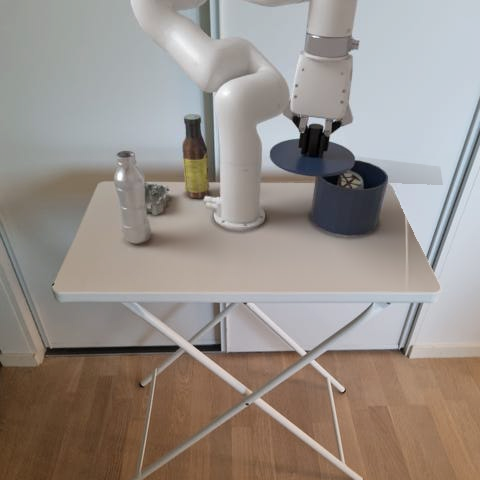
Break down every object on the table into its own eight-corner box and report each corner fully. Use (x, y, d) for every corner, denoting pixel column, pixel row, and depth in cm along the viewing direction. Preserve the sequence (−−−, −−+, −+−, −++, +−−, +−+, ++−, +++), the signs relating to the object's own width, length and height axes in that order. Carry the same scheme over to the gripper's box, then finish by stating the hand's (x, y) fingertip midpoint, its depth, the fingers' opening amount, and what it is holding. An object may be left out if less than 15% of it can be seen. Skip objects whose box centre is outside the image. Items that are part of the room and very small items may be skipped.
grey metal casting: (161, 217, 114) (159, 201, 111) (132, 213, 115) (129, 198, 112) (172, 196, 122) (171, 181, 119) (145, 193, 122) (143, 179, 120)
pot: (306, 231, 110) (312, 184, 102) (315, 200, 122) (321, 155, 114) (375, 241, 107) (387, 194, 99) (377, 208, 119) (388, 164, 111)
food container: (356, 232, 109) (365, 193, 103) (330, 229, 110) (337, 190, 103) (357, 207, 118) (365, 170, 112) (333, 204, 119) (339, 167, 112)
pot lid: (260, 172, 86) (262, 136, 82) (278, 139, 98) (281, 106, 94) (349, 185, 83) (357, 149, 79) (357, 150, 95) (364, 116, 91)
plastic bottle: (137, 228, 109) (125, 145, 96) (158, 238, 107) (148, 153, 93) (117, 240, 106) (101, 155, 92) (138, 250, 103) (125, 164, 89)
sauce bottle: (213, 196, 122) (211, 118, 109) (192, 201, 120) (188, 123, 106) (201, 186, 126) (198, 110, 113) (181, 191, 124) (175, 114, 110)
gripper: (377, 45, 79) (356, 151, 91) (284, 36, 81) (275, 140, 94) (375, 55, 73) (352, 166, 86) (275, 46, 76) (267, 155, 89)
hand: (312, 152), depth 90 cm, fingers closed on pot lid, 2 cm apart
